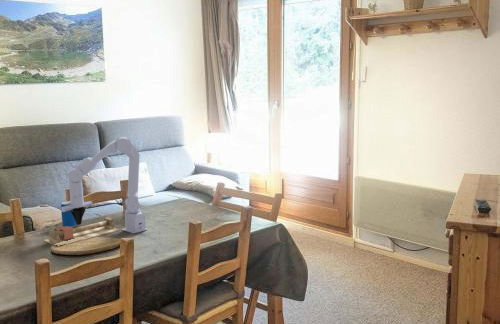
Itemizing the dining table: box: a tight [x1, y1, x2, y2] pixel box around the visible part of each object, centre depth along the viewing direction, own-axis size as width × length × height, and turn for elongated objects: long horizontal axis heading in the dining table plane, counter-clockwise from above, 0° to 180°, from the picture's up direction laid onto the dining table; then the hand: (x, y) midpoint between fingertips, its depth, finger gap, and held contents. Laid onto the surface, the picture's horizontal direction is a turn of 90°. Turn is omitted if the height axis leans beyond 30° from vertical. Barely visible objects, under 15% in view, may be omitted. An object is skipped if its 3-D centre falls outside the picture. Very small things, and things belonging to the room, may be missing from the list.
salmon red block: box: [55, 226, 74, 240], centre depth 218 cm, size 4×7×5 cm, turn 50°
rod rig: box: [43, 216, 120, 245], centre depth 224 cm, size 30×12×5 cm, turn 140°
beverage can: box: [60, 200, 78, 228], centre depth 238 cm, size 6×6×12 cm
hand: (78, 224), depth 225 cm, fingers closed
